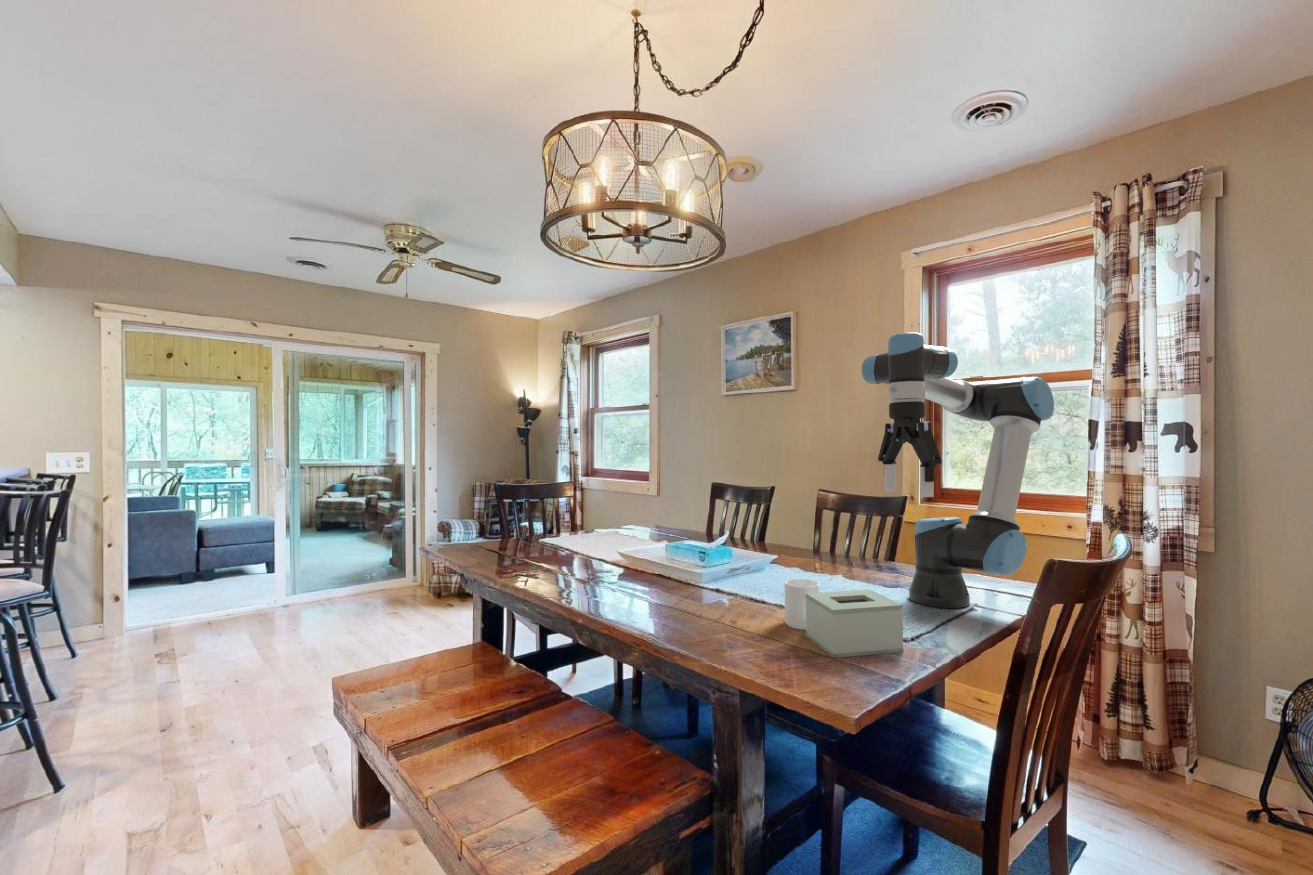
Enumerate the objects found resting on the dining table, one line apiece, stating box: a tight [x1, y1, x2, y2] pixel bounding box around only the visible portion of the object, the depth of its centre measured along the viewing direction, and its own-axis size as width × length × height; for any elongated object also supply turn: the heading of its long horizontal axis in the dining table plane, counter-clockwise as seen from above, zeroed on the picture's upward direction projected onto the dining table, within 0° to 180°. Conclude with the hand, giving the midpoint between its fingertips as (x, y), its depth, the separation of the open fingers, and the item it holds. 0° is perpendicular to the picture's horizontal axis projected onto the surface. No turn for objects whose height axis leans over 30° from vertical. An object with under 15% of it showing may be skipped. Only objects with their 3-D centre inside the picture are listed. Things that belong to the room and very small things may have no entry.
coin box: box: [805, 588, 904, 659], centre depth 126 cm, size 16×13×10 cm
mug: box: [784, 578, 820, 631], centre depth 137 cm, size 12×8×10 cm
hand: (907, 494), depth 130 cm, fingers open, 13 cm apart
